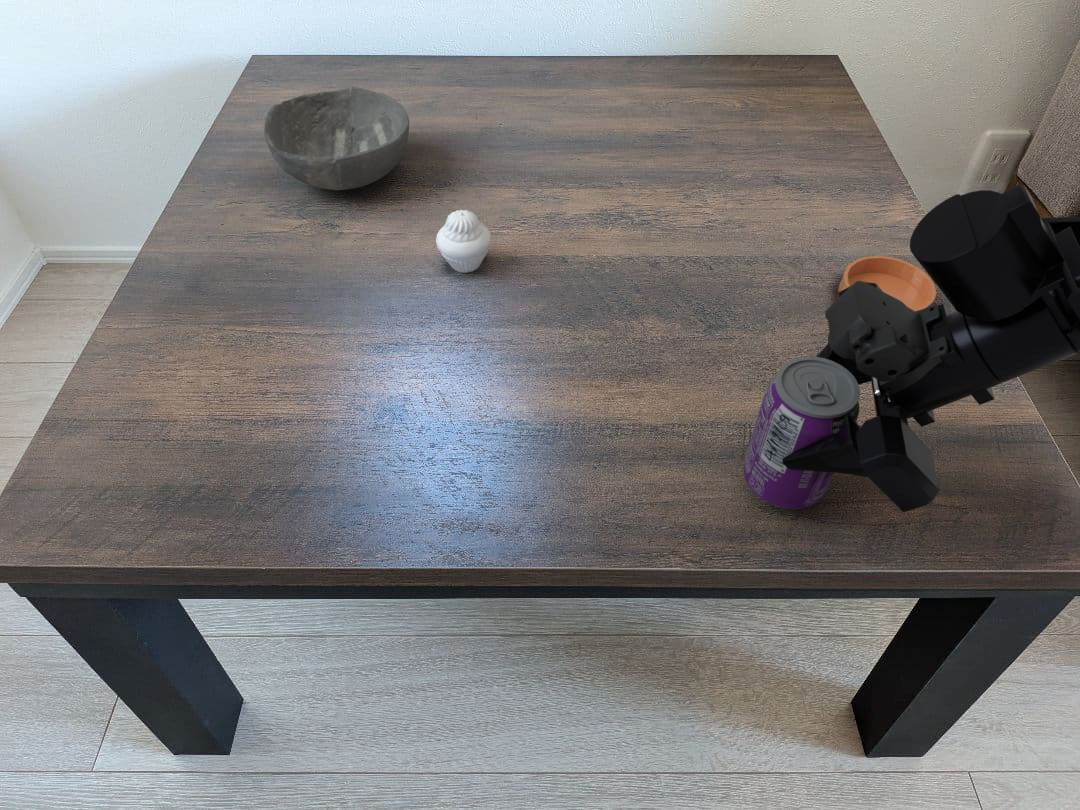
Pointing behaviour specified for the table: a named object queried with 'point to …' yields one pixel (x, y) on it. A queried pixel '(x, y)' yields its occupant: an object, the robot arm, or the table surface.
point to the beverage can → (798, 428)
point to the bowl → (337, 137)
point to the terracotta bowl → (892, 280)
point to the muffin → (463, 241)
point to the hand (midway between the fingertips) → (783, 429)
